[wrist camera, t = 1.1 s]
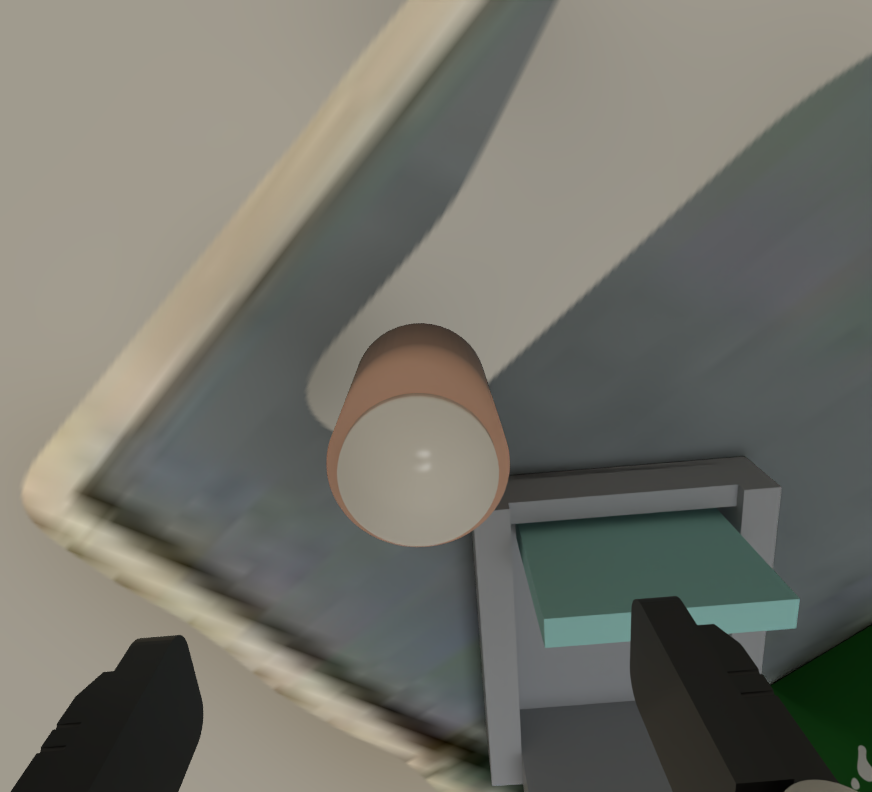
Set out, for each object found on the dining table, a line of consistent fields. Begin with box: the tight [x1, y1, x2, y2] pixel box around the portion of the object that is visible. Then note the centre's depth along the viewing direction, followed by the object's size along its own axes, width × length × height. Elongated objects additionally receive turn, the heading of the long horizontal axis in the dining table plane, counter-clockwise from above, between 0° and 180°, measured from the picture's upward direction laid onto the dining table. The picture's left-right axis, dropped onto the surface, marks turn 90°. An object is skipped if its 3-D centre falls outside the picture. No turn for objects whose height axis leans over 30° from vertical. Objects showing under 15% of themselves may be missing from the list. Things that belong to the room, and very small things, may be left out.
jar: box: [326, 323, 510, 547], centre depth 22 cm, size 6×6×9 cm
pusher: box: [516, 508, 800, 648], centre depth 24 cm, size 9×3×7 cm, turn 95°
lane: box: [472, 457, 782, 792], centre depth 27 cm, size 12×15×6 cm
